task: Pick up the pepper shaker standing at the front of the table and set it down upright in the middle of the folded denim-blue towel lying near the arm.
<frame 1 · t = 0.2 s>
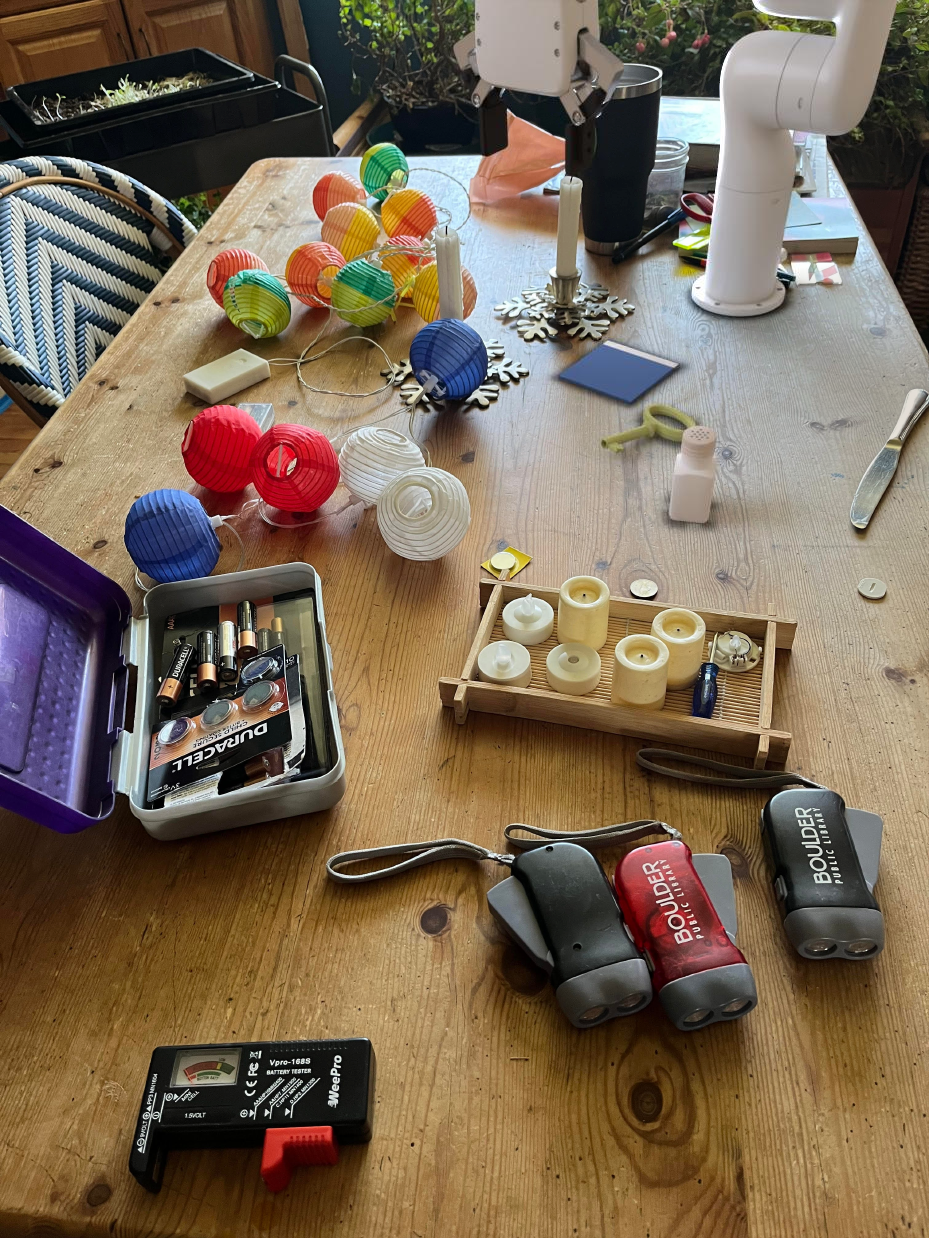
hand: (535, 161, 78), 31 cm above the table, tool pointing down, fingers open, 9 cm apart
key: (647, 438, 100), on the table
towel: (618, 372, 111), on the table
pepper shaker: (689, 513, 90), on the table
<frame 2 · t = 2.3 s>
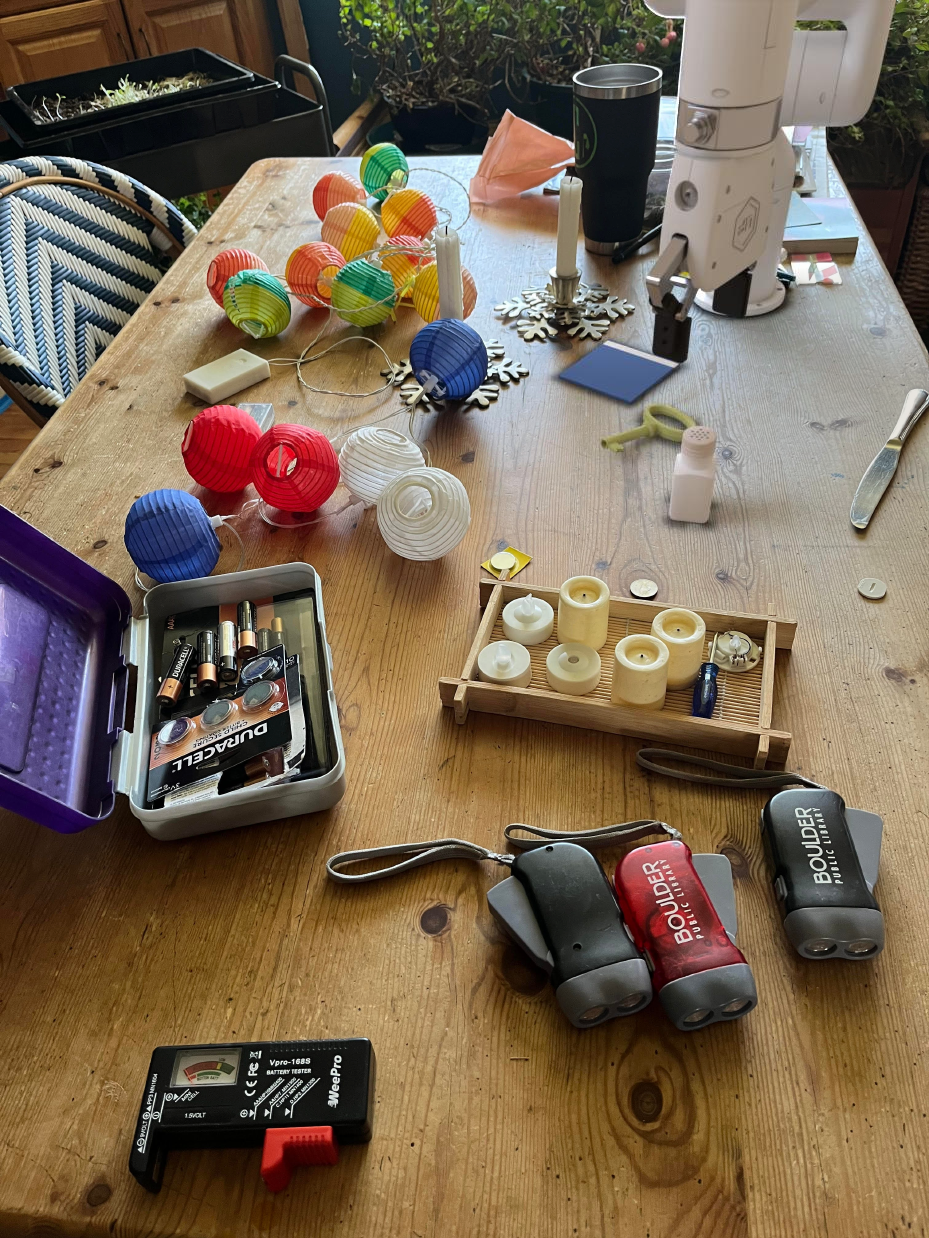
hand: (699, 335, 77), 20 cm above the table, tool pointing down, fingers open, 9 cm apart
nothing on the table moved.
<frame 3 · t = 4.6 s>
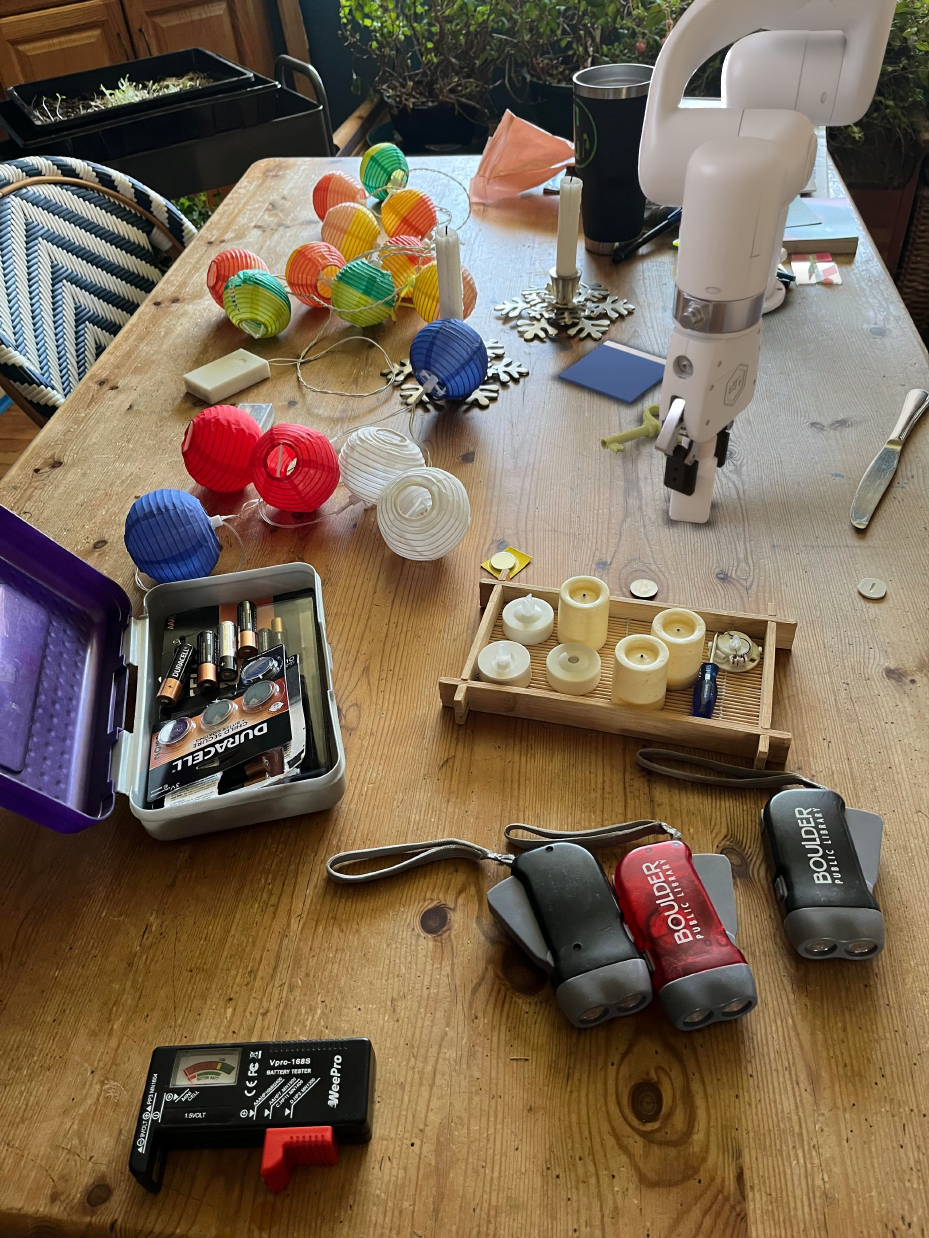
hand: (694, 474, 87), 5 cm above the table, tool pointing down, fingers closed on pepper shaker, 4 cm apart
pepper shaker: (689, 513, 90), on the table, touching gripper
everything else where it was.
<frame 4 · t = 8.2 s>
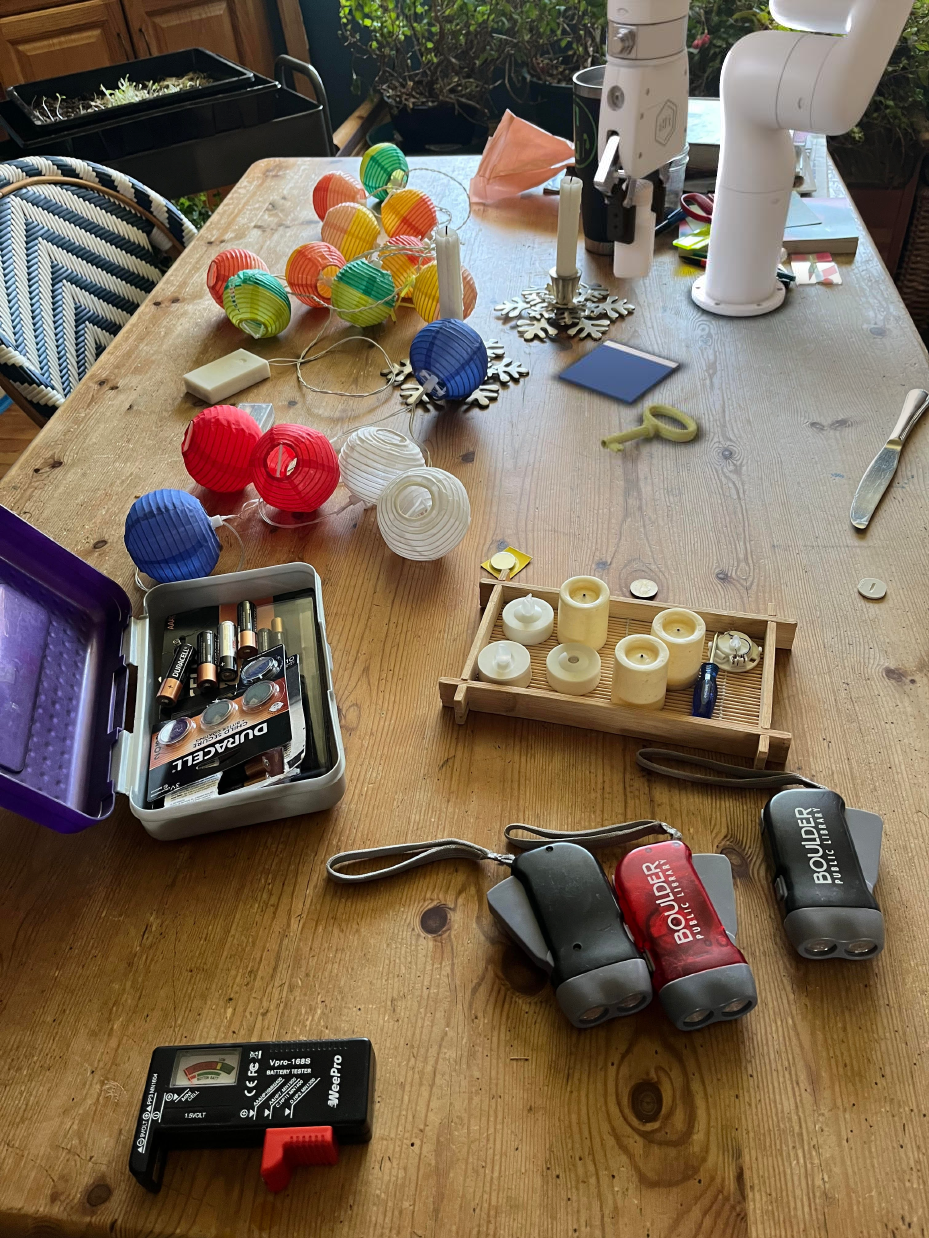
hand: (635, 229, 95), 19 cm above the table, tool pointing down, fingers closed on pepper shaker, 4 cm apart
pepper shaker: (632, 274, 99), point 14 cm above the table, touching gripper
everything else where it was.
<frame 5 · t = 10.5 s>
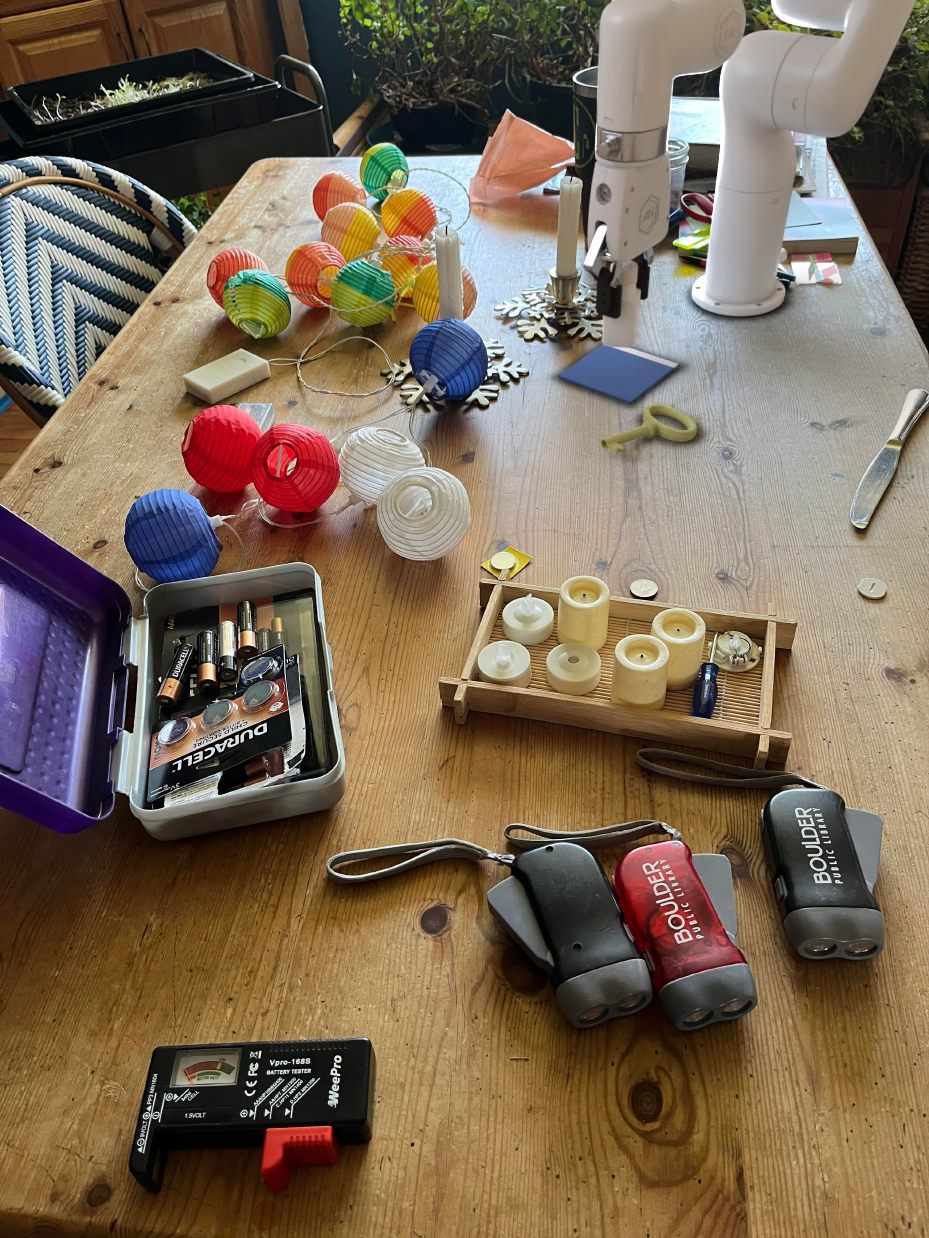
hand: (622, 304, 104), 9 cm above the table, tool pointing down, fingers closed on pepper shaker, 4 cm apart
pepper shaker: (619, 342, 108), point 4 cm above the table, touching gripper
everything else where it was.
when the fingers open (5 cm above the table, at t = 11.9 s): pepper shaker stays where it is, resting on towel.
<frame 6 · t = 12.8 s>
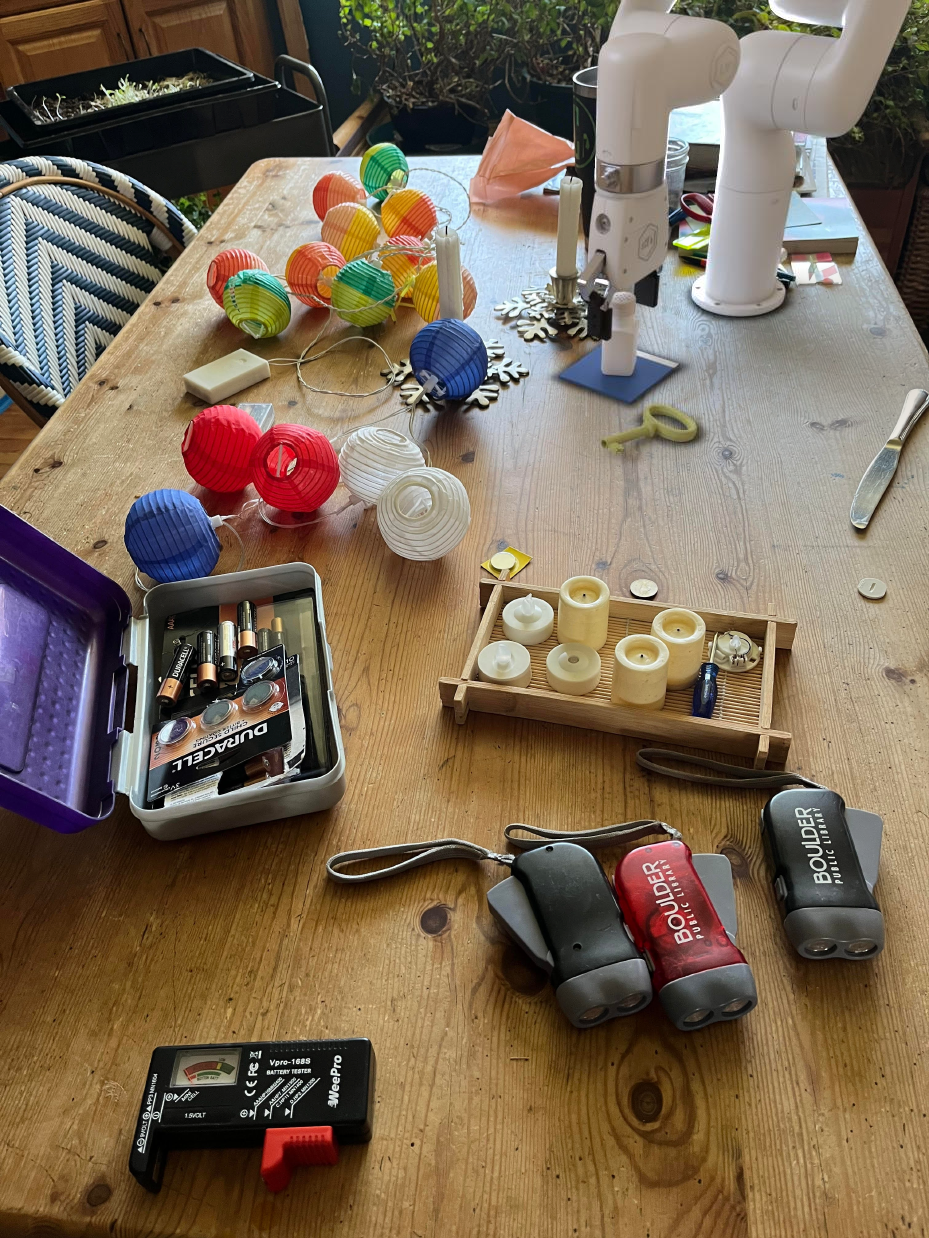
hand: (622, 320, 106), 7 cm above the table, tool pointing down, fingers open, 9 cm apart
pepper shaker: (618, 370, 110), resting on towel
everything else where it was.
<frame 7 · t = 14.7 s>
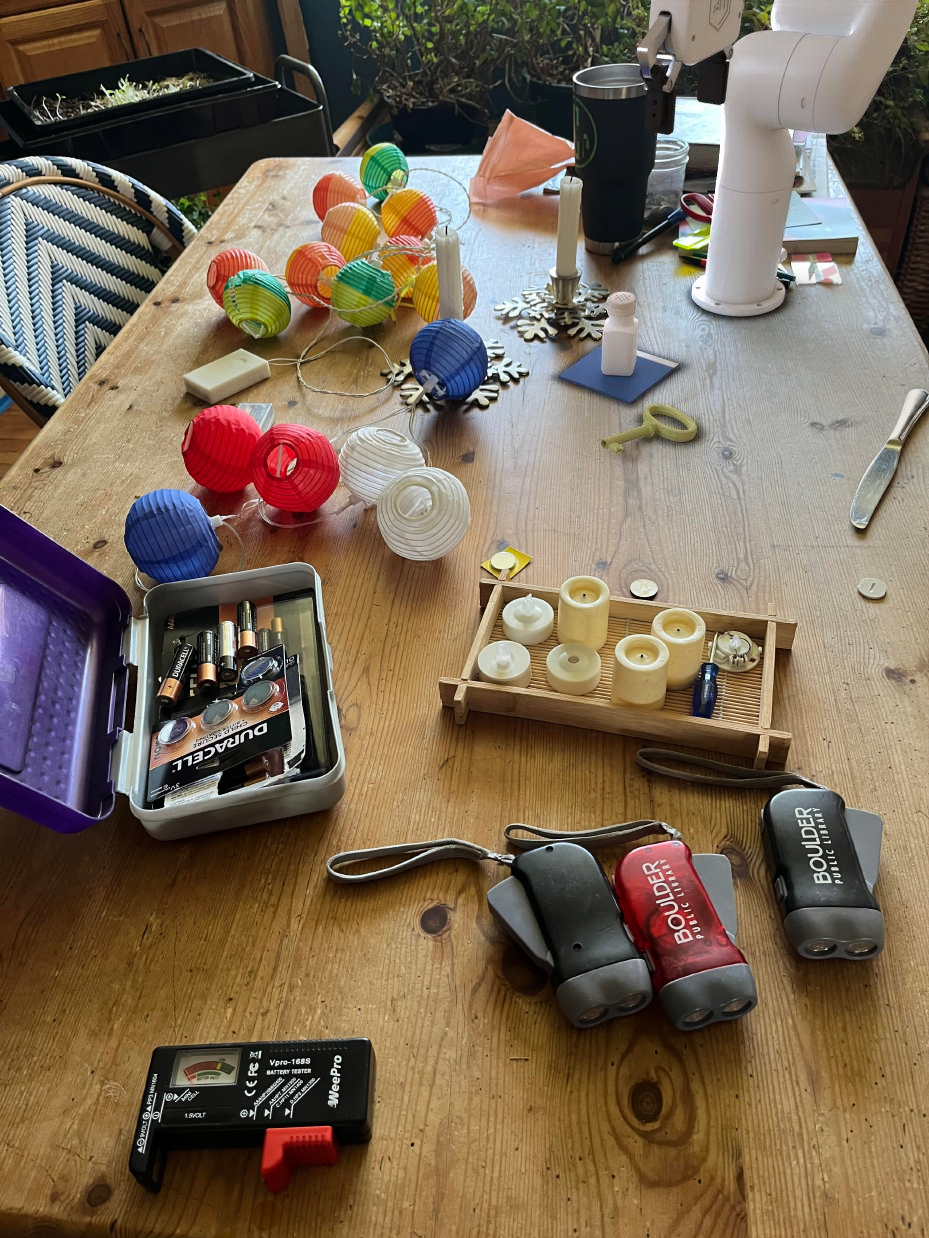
hand: (685, 117, 91), 28 cm above the table, tool pointing down, fingers open, 9 cm apart
nothing on the table moved.
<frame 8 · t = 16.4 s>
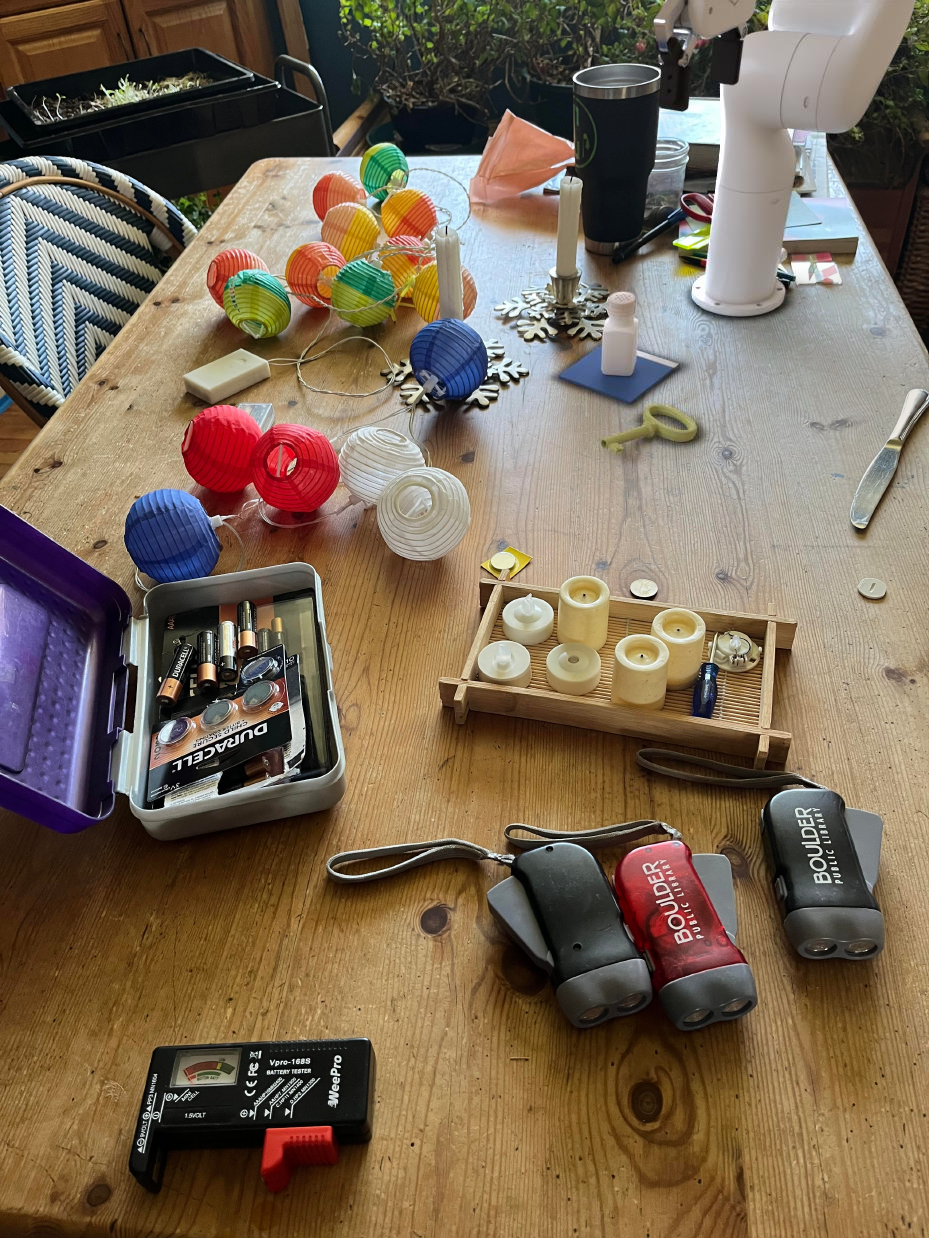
hand: (698, 96, 90), 30 cm above the table, tool pointing down, fingers open, 9 cm apart
nothing on the table moved.
at the end: pepper shaker inside the target area on the towel (0.0 cm from its centre), point 0.2 cm above the towel's base; pepper shaker tilted 0°; the gripper is holding nothing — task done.
